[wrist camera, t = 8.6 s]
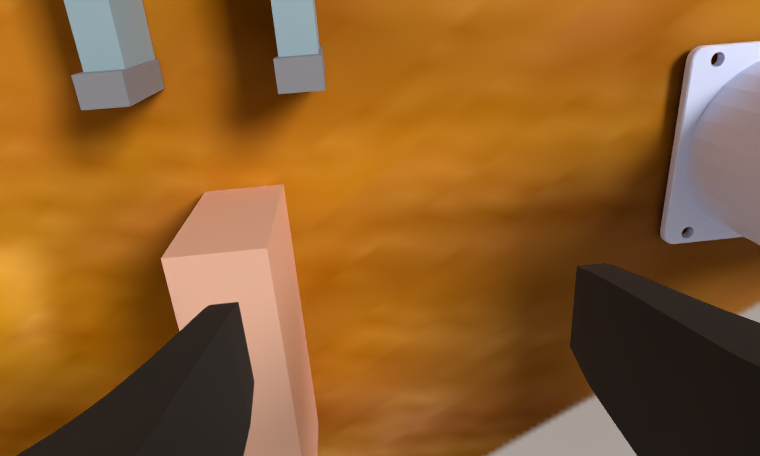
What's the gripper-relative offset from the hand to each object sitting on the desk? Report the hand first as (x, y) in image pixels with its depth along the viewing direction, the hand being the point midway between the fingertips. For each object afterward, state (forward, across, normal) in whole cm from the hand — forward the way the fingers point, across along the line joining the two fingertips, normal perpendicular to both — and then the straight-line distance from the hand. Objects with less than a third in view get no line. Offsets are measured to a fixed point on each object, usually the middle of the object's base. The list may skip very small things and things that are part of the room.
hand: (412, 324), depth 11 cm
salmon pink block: (+11, +5, +6) cm, 13 cm away
